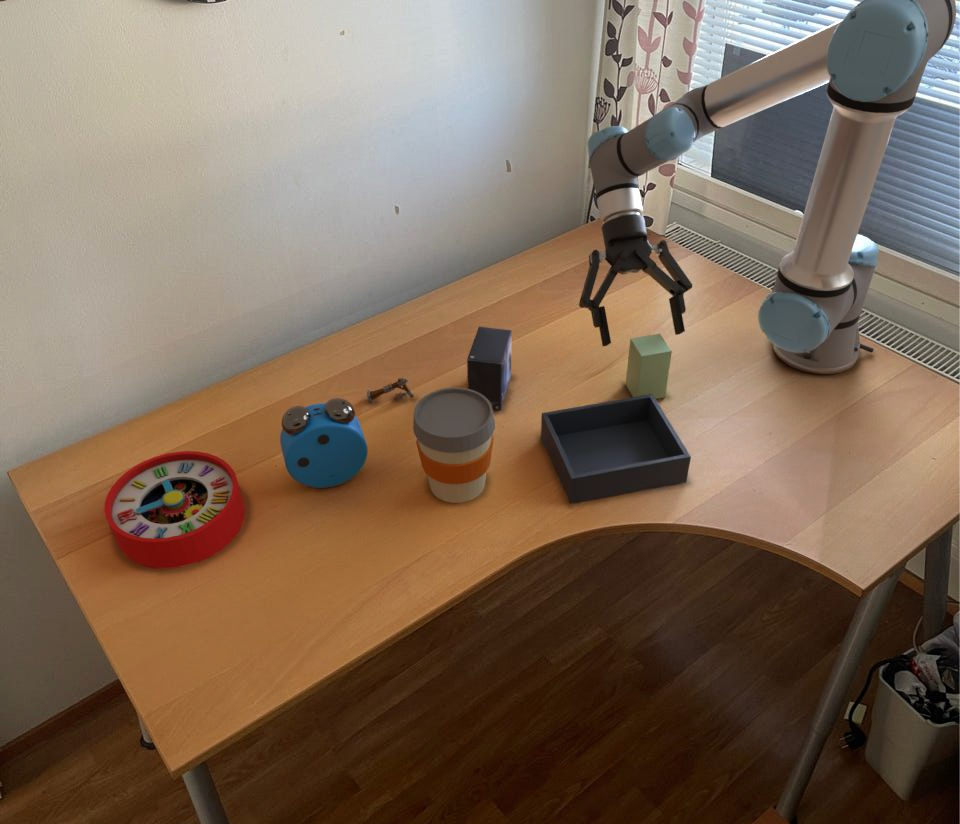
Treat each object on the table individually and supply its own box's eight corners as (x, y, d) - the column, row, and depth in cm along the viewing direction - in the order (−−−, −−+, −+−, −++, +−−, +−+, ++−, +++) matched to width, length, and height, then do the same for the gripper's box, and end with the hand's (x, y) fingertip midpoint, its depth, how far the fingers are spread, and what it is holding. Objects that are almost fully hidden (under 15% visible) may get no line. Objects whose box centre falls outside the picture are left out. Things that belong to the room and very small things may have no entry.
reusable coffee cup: (480, 518, 141) (477, 446, 131) (406, 500, 145) (398, 428, 134) (506, 467, 150) (505, 395, 139) (436, 451, 153) (430, 379, 142)
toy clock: (255, 509, 136) (122, 561, 129) (263, 536, 140) (134, 587, 133) (214, 435, 148) (91, 478, 142) (222, 462, 152) (102, 505, 146)
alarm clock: (365, 456, 152) (353, 385, 142) (372, 480, 148) (361, 408, 138) (287, 473, 150) (270, 402, 139) (293, 498, 146) (276, 427, 135)
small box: (503, 412, 160) (502, 363, 152) (467, 408, 161) (464, 360, 154) (513, 376, 167) (513, 328, 160) (478, 373, 168) (477, 325, 161)
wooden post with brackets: (417, 397, 162) (405, 379, 159) (378, 413, 164) (366, 395, 161) (417, 391, 163) (405, 372, 160) (379, 406, 166) (366, 389, 163)
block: (653, 379, 165) (660, 333, 158) (665, 397, 162) (672, 351, 155) (625, 384, 165) (630, 338, 158) (636, 402, 161) (641, 356, 154)
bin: (649, 419, 157) (652, 393, 154) (686, 482, 146) (691, 456, 142) (540, 438, 155) (541, 412, 151) (570, 504, 143) (571, 478, 139)
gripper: (681, 217, 164) (702, 332, 164) (549, 236, 161) (570, 353, 161) (696, 203, 157) (718, 323, 157) (558, 222, 153) (581, 345, 153)
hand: (643, 339), depth 159 cm, fingers open, 13 cm apart
